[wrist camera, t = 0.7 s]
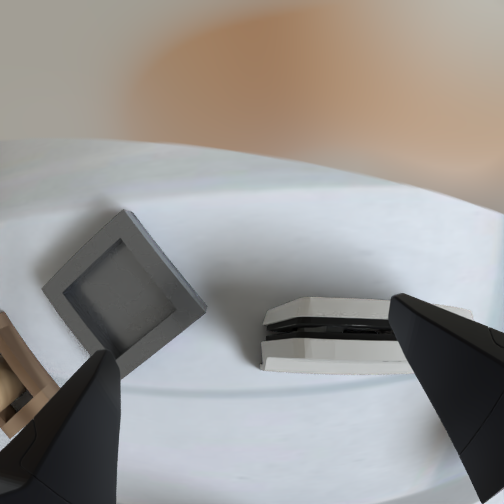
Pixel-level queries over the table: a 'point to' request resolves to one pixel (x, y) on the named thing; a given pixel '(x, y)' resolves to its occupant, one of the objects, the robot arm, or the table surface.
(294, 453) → the table surface
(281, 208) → the table surface
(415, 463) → the table surface
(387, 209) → the table surface
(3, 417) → the walnut collar block
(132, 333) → the metal cradle
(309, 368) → the white plastic device casing
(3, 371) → the oak axle peg
